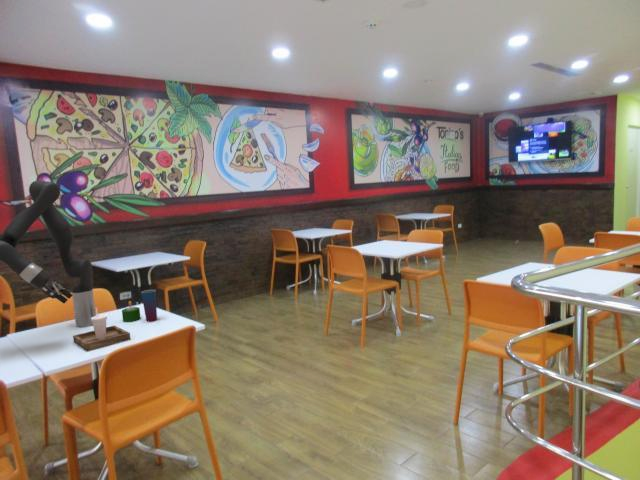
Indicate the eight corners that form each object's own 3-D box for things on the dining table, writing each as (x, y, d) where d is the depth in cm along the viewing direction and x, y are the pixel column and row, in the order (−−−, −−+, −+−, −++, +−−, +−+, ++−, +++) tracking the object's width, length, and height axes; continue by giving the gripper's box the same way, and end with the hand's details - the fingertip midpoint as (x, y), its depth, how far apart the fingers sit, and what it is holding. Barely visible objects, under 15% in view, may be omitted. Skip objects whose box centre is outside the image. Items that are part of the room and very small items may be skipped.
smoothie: (96, 336, 204) (93, 306, 202) (111, 335, 204) (108, 305, 203) (90, 341, 198) (87, 310, 196) (105, 340, 198) (102, 308, 196)
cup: (154, 322, 225) (150, 292, 223) (141, 322, 226) (138, 293, 225) (161, 318, 232) (158, 289, 230) (149, 318, 233) (146, 289, 231)
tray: (73, 342, 202) (72, 335, 201) (115, 331, 214) (114, 325, 214) (87, 351, 189) (86, 344, 188) (130, 339, 201) (129, 332, 201)
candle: (136, 321, 228) (134, 302, 227) (120, 322, 228) (117, 303, 227) (143, 317, 236) (141, 298, 235) (127, 317, 236) (125, 299, 235)
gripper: (36, 272, 185) (70, 296, 190) (46, 266, 199) (78, 289, 204) (23, 286, 185) (58, 310, 189) (34, 279, 198) (66, 301, 203)
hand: (68, 299), depth 197 cm, fingers open, 8 cm apart
